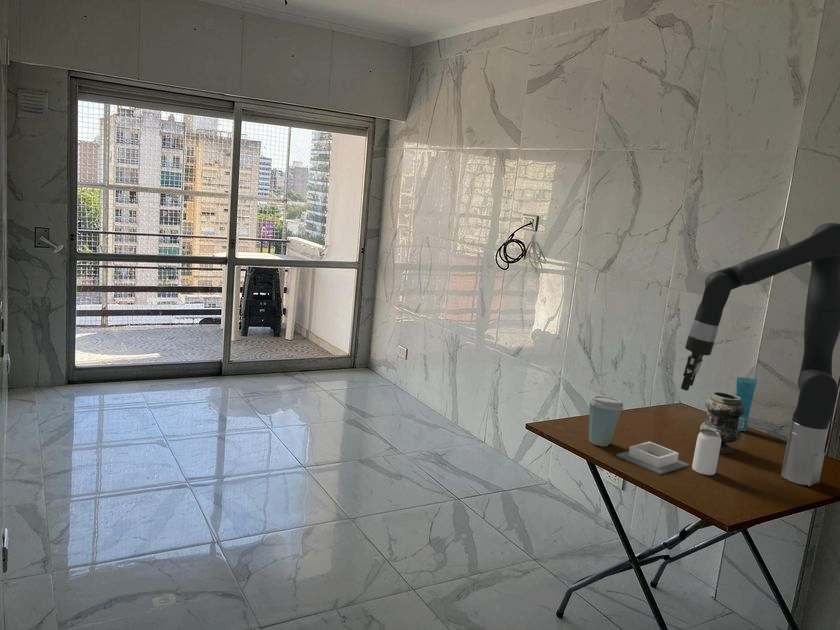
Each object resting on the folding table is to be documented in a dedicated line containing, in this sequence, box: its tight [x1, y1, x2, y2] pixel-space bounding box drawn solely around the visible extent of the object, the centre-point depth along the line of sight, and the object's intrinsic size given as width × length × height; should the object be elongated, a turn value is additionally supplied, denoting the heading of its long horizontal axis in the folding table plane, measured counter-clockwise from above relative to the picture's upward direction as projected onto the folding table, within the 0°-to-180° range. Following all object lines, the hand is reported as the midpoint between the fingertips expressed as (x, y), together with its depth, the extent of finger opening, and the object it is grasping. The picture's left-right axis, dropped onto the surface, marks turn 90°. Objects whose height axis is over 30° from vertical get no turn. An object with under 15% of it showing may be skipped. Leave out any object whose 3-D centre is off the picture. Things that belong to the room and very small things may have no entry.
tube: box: [734, 376, 758, 432], centre depth 242 cm, size 7×5×19 cm, turn 99°
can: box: [691, 429, 721, 476], centre depth 199 cm, size 6×6×12 cm
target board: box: [616, 441, 690, 476], centre depth 204 cm, size 15×15×4 cm
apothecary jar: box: [699, 391, 745, 455], centre depth 220 cm, size 12×12×18 cm
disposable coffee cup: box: [588, 394, 624, 447], centre depth 215 cm, size 11×11×15 cm
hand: (686, 387), depth 208 cm, fingers open, 8 cm apart
